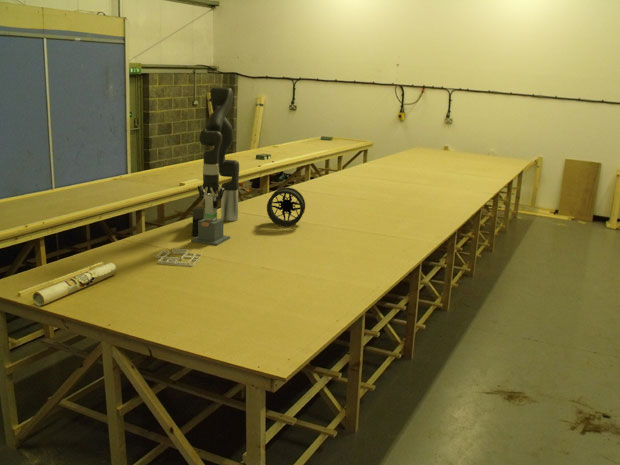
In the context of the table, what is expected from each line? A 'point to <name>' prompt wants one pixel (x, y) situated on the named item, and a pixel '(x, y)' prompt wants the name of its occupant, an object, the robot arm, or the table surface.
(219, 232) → the gray sleeve
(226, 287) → the table surface
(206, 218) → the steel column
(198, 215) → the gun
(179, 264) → the floor plan model
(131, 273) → the table surface
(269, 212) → the wheel rim
